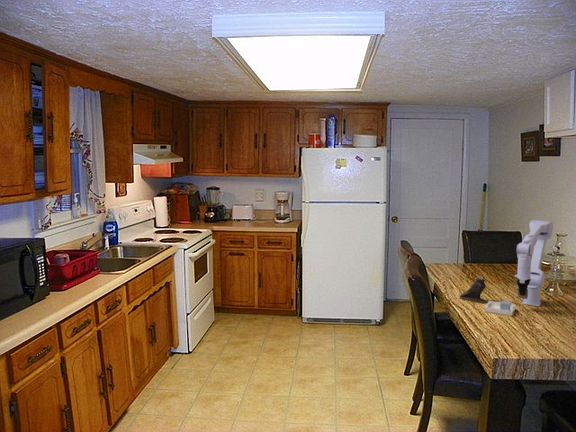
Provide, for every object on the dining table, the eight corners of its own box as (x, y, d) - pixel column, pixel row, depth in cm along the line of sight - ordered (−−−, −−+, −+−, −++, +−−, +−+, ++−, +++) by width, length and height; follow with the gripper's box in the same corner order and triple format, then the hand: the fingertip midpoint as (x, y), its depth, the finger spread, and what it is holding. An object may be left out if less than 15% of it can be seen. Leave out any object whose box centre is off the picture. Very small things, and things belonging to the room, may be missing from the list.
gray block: (510, 310, 217) (510, 302, 217) (509, 312, 214) (509, 304, 214) (501, 308, 220) (501, 300, 219) (500, 310, 216) (500, 303, 216)
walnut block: (518, 295, 221) (518, 288, 221) (527, 297, 219) (528, 289, 218) (517, 297, 218) (518, 289, 217) (526, 299, 215) (527, 291, 215)
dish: (489, 305, 226) (489, 300, 226) (515, 309, 220) (515, 304, 219) (484, 312, 216) (485, 307, 216) (512, 316, 210) (512, 311, 210)
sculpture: (482, 304, 229) (484, 279, 228) (458, 298, 239) (459, 275, 237) (487, 302, 233) (488, 277, 231) (463, 296, 243) (464, 273, 241)
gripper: (516, 263, 225) (515, 289, 226) (513, 269, 213) (512, 296, 214) (532, 265, 221) (531, 291, 222) (529, 271, 209) (528, 298, 210)
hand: (522, 294), depth 218 cm, fingers closed on walnut block, 4 cm apart
